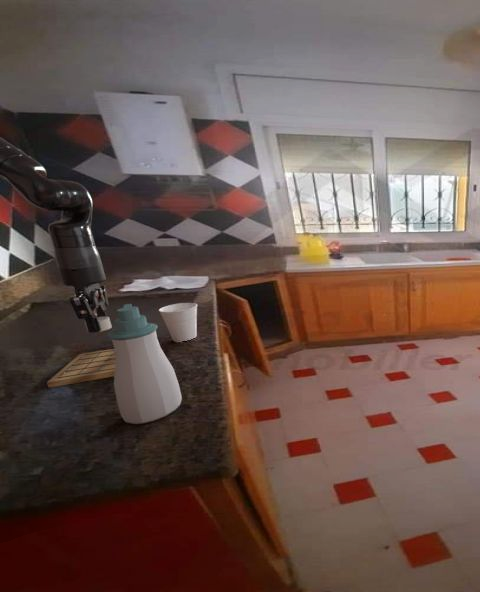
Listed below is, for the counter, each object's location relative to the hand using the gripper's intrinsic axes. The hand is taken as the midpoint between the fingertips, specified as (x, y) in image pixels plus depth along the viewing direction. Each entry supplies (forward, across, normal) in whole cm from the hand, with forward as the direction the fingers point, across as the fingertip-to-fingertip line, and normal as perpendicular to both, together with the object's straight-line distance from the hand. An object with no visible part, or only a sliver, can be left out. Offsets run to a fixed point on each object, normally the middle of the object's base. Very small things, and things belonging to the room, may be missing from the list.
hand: (99, 328), depth 83 cm
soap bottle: (+11, +31, +16) cm, 37 cm away
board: (+11, 0, 0) cm, 11 cm away
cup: (+11, -12, +15) cm, 22 cm away
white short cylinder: (0, 0, 0) cm, 0 cm away
